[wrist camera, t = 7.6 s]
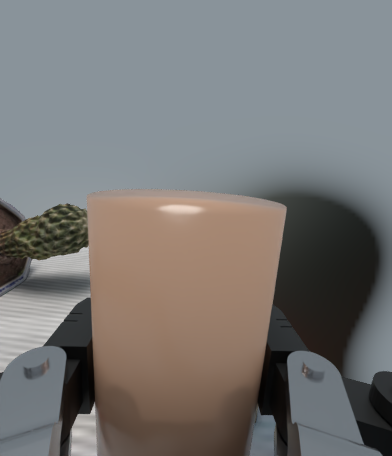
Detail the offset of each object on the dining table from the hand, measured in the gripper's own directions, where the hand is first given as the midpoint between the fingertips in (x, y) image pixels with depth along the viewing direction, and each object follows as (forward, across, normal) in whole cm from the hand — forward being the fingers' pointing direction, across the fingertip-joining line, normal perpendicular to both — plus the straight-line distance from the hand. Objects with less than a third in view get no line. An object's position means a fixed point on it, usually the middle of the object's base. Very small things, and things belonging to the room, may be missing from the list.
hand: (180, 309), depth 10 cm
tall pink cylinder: (-3, 0, +7) cm, 7 cm away
